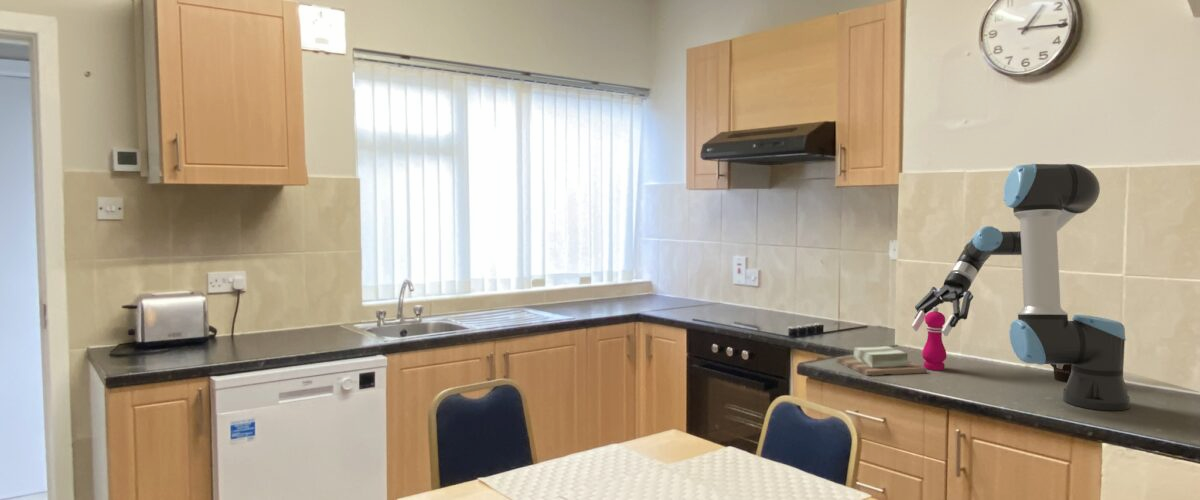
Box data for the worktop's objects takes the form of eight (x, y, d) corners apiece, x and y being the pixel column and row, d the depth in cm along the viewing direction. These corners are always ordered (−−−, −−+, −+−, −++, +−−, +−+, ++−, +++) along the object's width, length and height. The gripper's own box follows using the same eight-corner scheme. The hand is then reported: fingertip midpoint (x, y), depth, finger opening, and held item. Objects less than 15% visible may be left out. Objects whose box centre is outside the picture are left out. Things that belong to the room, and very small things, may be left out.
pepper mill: (917, 366, 248) (918, 305, 246) (938, 365, 249) (939, 305, 247) (929, 371, 241) (930, 308, 239) (950, 370, 242) (952, 308, 240)
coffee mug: (1090, 383, 224) (1091, 350, 223) (1060, 383, 224) (1061, 350, 224) (1066, 374, 236) (1068, 342, 235) (1038, 374, 236) (1039, 342, 235)
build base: (925, 372, 239) (926, 355, 238) (866, 375, 236) (867, 358, 235) (891, 359, 259) (891, 343, 258) (836, 361, 255) (836, 345, 255)
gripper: (998, 289, 241) (966, 344, 234) (934, 282, 261) (903, 332, 254) (988, 274, 238) (956, 328, 231) (924, 268, 257) (893, 318, 250)
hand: (929, 330), depth 242 cm, fingers open, 10 cm apart
